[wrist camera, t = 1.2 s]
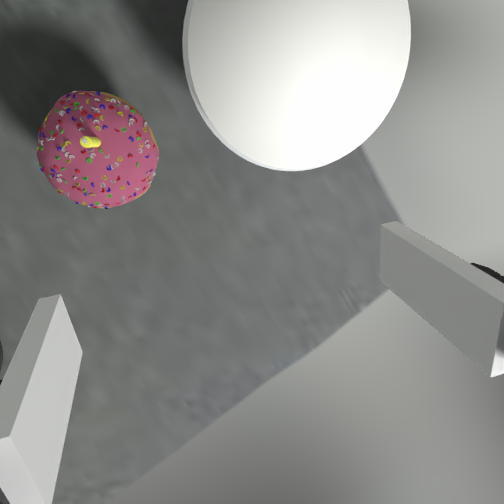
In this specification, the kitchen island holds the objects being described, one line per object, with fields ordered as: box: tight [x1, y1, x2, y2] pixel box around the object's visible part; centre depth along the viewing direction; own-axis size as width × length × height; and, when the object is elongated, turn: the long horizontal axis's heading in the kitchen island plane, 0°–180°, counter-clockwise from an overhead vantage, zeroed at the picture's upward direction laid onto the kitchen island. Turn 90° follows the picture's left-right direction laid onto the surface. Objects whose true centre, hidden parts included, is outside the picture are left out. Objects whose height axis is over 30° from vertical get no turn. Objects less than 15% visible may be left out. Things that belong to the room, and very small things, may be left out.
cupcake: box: [36, 91, 159, 209], centre depth 29 cm, size 9×8×12 cm
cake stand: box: [182, 0, 411, 171], centre depth 31 cm, size 17×17×7 cm
